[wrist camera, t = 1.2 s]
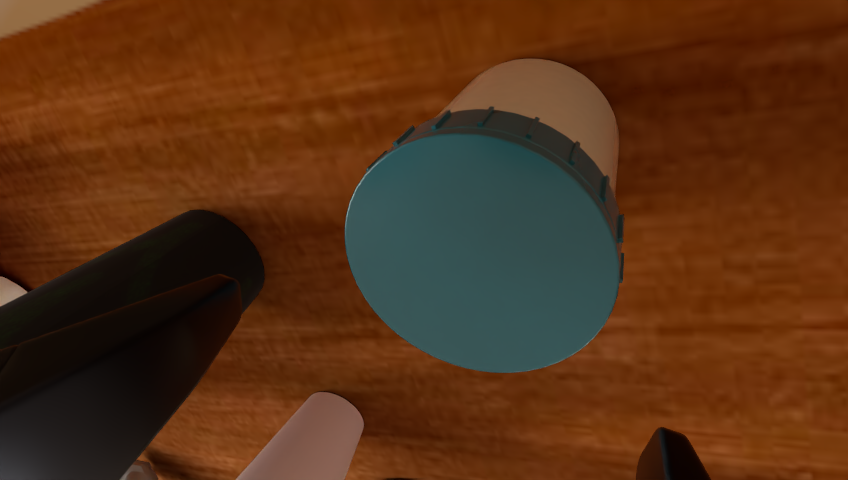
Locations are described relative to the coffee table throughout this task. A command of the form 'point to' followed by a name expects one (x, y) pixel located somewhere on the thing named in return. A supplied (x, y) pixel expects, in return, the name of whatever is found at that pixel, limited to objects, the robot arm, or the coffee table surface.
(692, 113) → the coffee table surface
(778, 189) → the coffee table surface
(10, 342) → the cup
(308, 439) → the smoothie
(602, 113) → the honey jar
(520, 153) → the jar lid
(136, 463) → the soldier figurine
